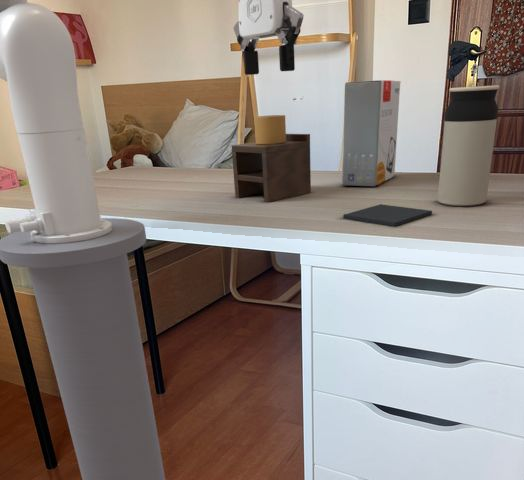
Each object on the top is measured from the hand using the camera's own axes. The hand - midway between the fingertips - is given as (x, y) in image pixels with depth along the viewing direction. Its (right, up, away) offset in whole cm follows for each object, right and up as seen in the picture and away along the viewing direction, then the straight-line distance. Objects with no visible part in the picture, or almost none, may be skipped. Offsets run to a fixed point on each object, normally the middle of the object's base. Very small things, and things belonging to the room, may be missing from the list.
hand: (269, 72), depth 99 cm
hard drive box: (+23, -15, +19) cm, 33 cm away
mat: (+19, -30, -14) cm, 38 cm away
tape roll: (0, -11, +5) cm, 12 cm away
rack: (+1, -20, +10) cm, 22 cm away
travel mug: (+33, -26, -7) cm, 43 cm away
